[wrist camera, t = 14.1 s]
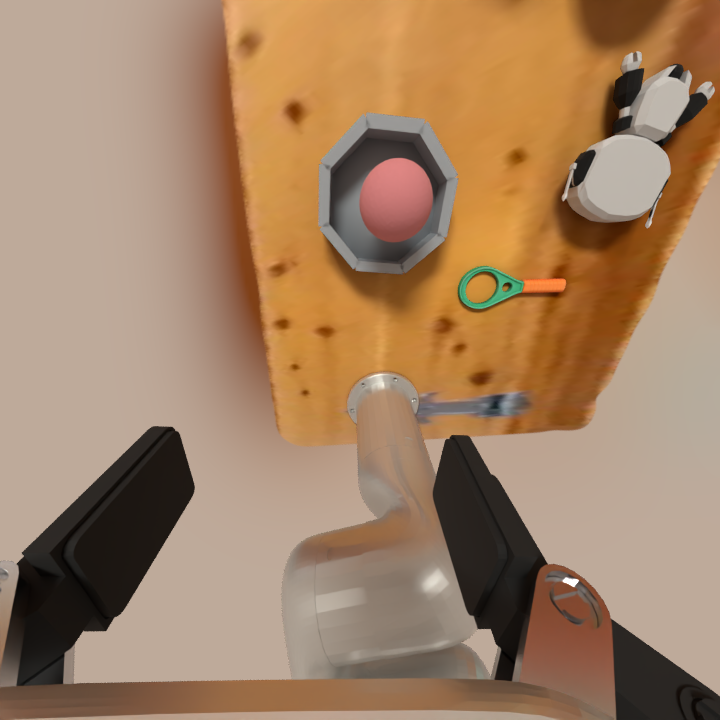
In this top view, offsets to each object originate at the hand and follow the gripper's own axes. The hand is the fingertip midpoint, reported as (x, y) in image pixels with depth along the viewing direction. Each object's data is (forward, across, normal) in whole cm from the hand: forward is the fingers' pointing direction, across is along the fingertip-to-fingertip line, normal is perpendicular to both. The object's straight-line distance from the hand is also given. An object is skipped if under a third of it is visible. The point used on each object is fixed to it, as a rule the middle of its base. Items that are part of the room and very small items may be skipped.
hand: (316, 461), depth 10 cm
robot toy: (+33, -33, -18) cm, 50 cm away
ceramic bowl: (+33, -5, -11) cm, 35 cm away
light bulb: (+32, -5, -10) cm, 34 cm away
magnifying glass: (+34, -24, -2) cm, 42 cm away
